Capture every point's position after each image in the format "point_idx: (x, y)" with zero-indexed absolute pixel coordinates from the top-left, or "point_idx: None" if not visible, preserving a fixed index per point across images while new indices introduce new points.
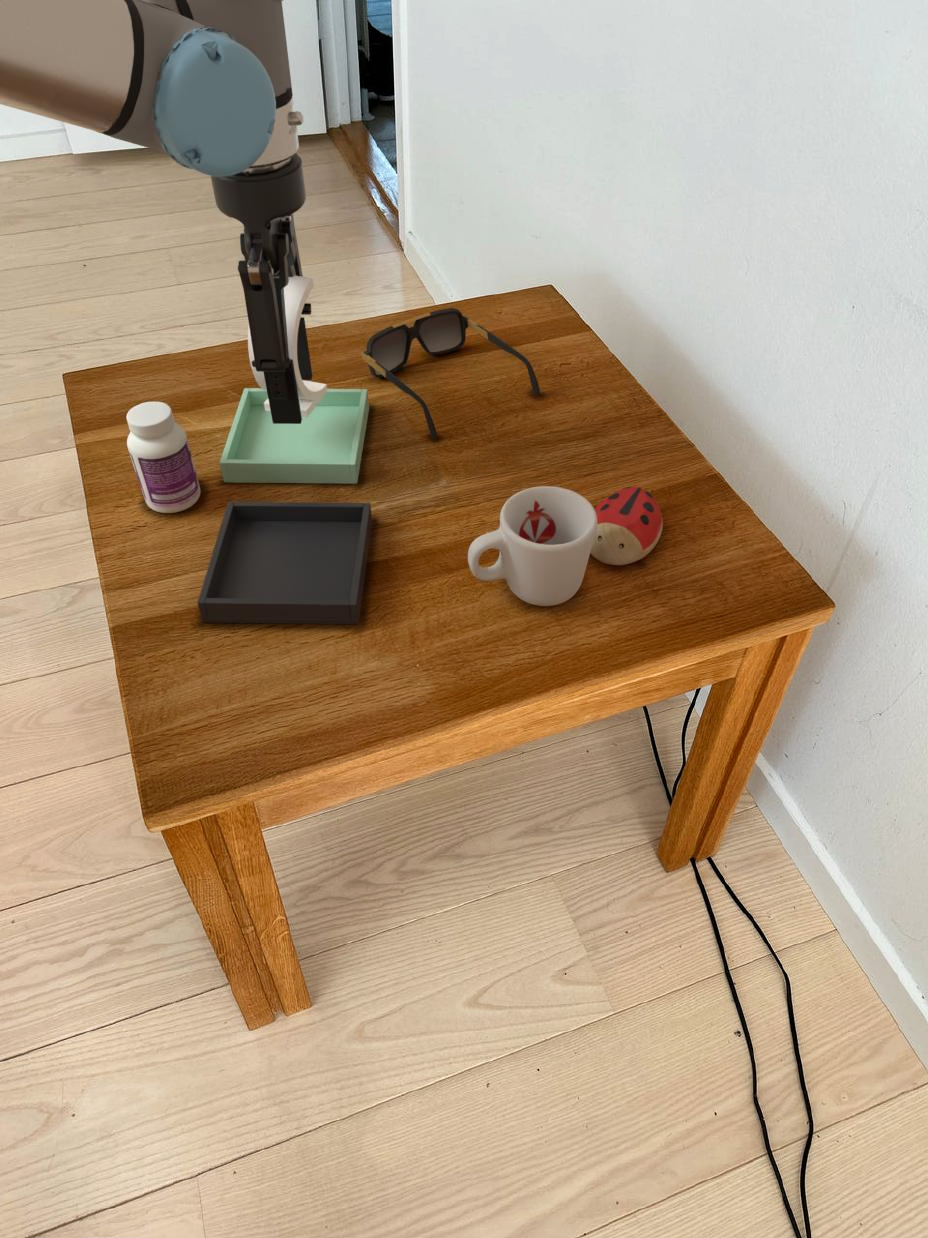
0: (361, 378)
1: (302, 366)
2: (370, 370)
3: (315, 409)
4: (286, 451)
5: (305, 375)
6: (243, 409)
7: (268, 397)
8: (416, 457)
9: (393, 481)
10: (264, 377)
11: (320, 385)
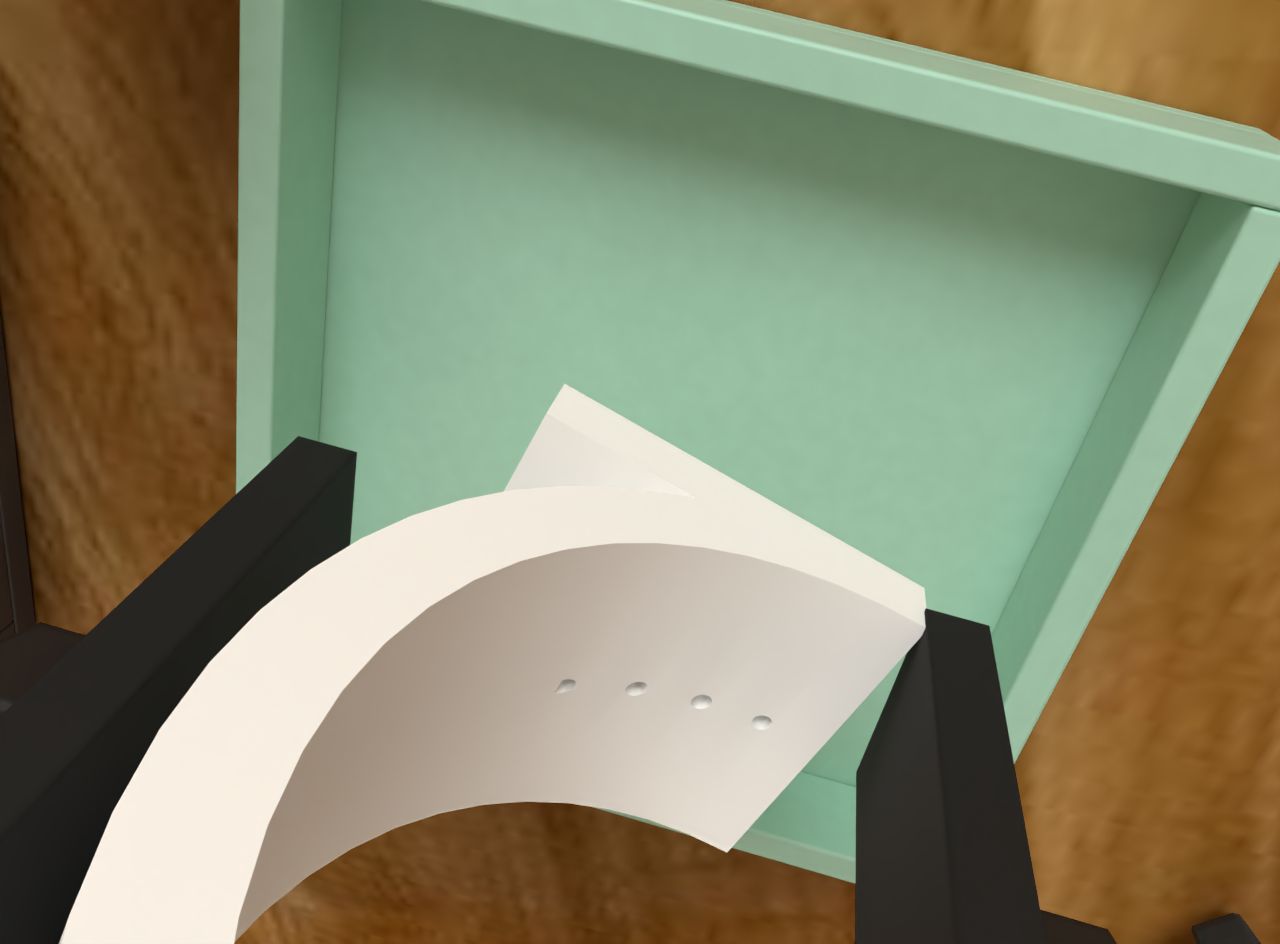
0: (1269, 843)
1: (875, 823)
2: (1237, 934)
3: (971, 580)
4: (550, 357)
5: (866, 770)
6: (983, 136)
7: (157, 569)
8: (472, 868)
9: None
10: (7, 712)
11: (717, 818)
